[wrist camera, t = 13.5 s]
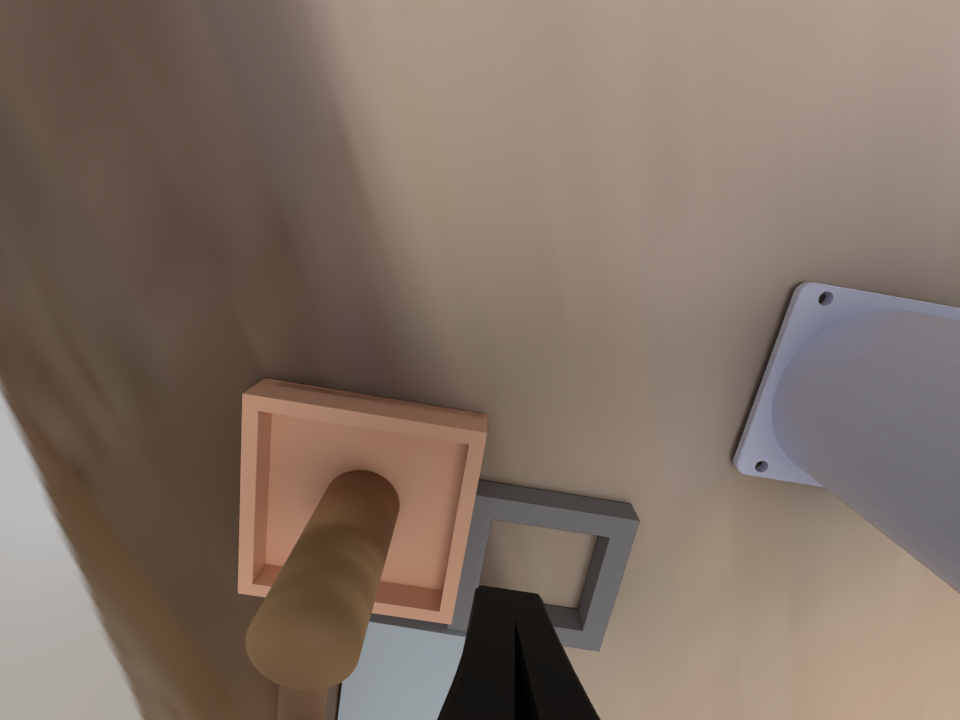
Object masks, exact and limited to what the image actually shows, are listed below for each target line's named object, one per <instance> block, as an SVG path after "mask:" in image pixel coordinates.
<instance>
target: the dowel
mask: <svg viewBox="0 0 960 720" xmlns="http://www.w3.org/2000/svg"><path fill="white" fill-rule="evenodd" d="M399 509H400V501H399V497H398V494H397V492H396V490H395V488H394V487H393V485H392V484H391V483H390V482H389V481H388V480H387V479H385V478H384V477H382V476H381V475H379V474H377V473H374V472H371V471H366V470H354V471H349V472H346V473H343V474H341V475H339V476H338V477H336V478H335V479H334V480H333V481H332V482H331V483H330V484H329V486H328V488H327V489H326V491H325V493H324V495H323V497H322V498H321V500H320V502H319V504H318V505H317V507H316V509H315V511H314V512H313V514H312V516H311V518H310V520H309V521H308V523H307V525H306V527H305V528H304V530H303V532H302V534H301V535H300V537H299V539H298V541H297V543H296V544H295V546H294V548H293V550H292V551H291V553H290V555H289V557H288V558H287V560H286V562H285V564H284V566H283V567H282V569H281V571H280V573H279V574H278V576H277V578H276V580H275V581H274V583H273V585H272V587H271V589H270V590H269V592H268V594H267V596H266V597H265V599H264V601H263V603H262V604H261V606H260V608H259V610H258V612H257V613H256V615H255V617H254V619H253V620H252V622H251V624H250V626H249V628H248V630H247V633H246V639H245V643H246V651H247V654H248V656H249V659H250V660H251V662H252V664H253V665H254V667H255V668H256V669H257V670H258V671H259V672H260V673H261V674H262V675H263V676H265V677H266V678H267V679H269V680H270V681H272V682H274V683H276V684H278V685H281V686H283V687H286V688H290V689H294V690H300V691H316V690H323V689H327V688H330V687H333V686H335V685H337V684H339V683H341V682H342V681H344V680H345V679H346V678H348V677H349V676H350V675H351V673H352V672H353V671H354V669H355V668H356V666H357V664H358V661H359V658H360V654H361V650H362V647H363V643H364V639H365V636H366V632H367V628H368V624H369V621H370V617H371V613H372V610H373V606H374V602H375V599H376V595H377V591H378V587H379V584H380V580H381V576H382V573H383V569H384V565H385V561H386V558H387V554H388V550H389V547H390V543H391V539H392V536H393V532H394V528H395V524H396V521H397V517H398V513H399Z"/></svg>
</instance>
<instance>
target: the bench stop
mask: <svg viewBox="0 0 960 720" xmlns="http://www.w3.org/2000/svg"><path fill="white" fill-rule="evenodd" d="M341 688H342V682H341V683H339V684H337V685H335V686H333V687H330V688H327V689H323V690H316V691H300V690H294V689H290V688H286V687H283V686H281V685H279V694H278V711H277V720H338V712H339V704H340V696H341Z"/></svg>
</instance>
